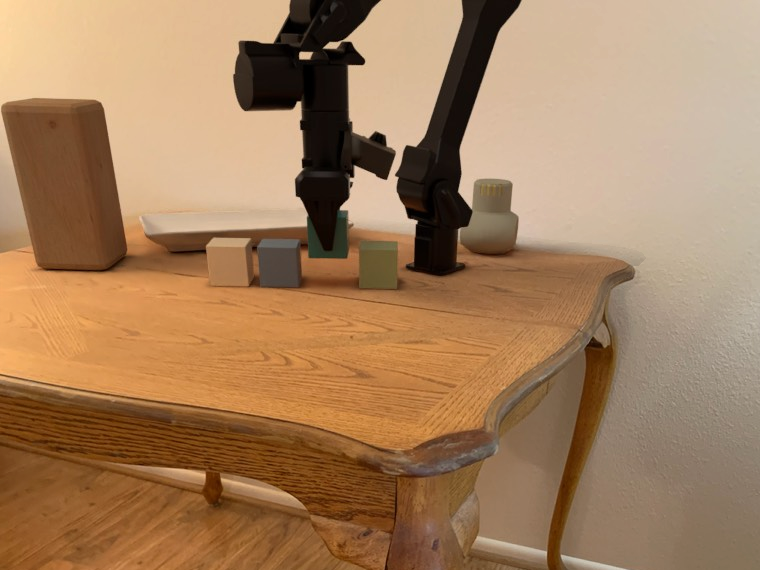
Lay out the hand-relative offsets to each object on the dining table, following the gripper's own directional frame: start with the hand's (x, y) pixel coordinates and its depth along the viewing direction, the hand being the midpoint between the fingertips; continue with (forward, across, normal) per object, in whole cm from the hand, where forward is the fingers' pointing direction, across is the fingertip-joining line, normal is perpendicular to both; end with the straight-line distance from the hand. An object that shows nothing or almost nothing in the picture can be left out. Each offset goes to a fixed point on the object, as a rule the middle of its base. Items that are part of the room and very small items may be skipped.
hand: (329, 246), depth 100 cm
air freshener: (+5, +21, -23) cm, 32 cm away
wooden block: (+5, +8, +36) cm, 37 cm away
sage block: (+5, 0, -6) cm, 8 cm away
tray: (+5, +24, +15) cm, 29 cm away
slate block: (+5, 0, +7) cm, 8 cm away
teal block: (+1, 0, 0) cm, 1 cm away
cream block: (+5, 0, +13) cm, 14 cm away
